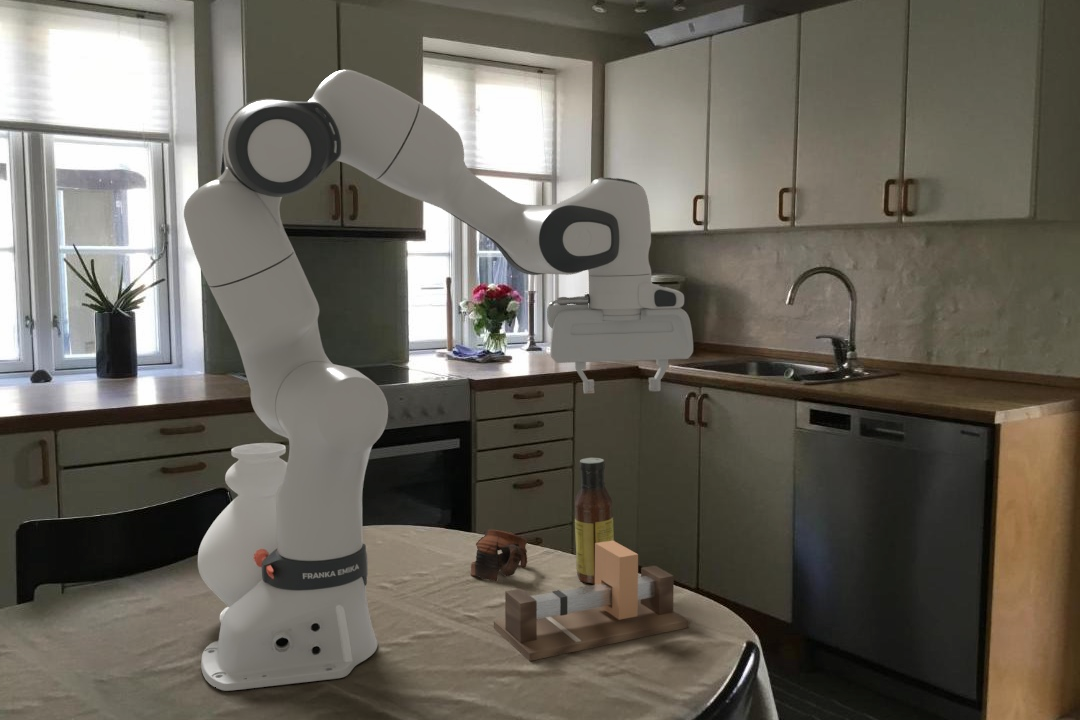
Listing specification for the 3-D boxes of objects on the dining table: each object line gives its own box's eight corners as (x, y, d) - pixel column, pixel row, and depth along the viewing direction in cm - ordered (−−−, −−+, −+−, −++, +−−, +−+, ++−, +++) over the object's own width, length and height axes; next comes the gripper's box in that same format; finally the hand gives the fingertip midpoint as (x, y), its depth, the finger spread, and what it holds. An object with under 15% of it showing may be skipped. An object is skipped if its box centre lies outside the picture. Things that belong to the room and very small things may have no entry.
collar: (619, 619, 130) (619, 557, 129) (594, 602, 136) (595, 543, 135) (637, 616, 131) (638, 554, 130) (612, 599, 138) (612, 540, 136)
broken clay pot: (457, 574, 156) (471, 526, 159) (503, 590, 160) (516, 543, 163) (491, 576, 146) (505, 525, 149) (540, 593, 150) (553, 544, 153)
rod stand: (529, 660, 121) (529, 613, 121) (493, 627, 132) (493, 583, 131) (688, 627, 132) (689, 583, 132) (643, 599, 143) (644, 558, 142)
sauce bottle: (614, 573, 155) (615, 456, 152) (614, 586, 148) (615, 464, 146) (575, 571, 155) (576, 455, 153) (573, 585, 149) (573, 463, 147)
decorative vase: (281, 647, 126) (274, 466, 123) (173, 630, 131) (164, 456, 128) (349, 601, 142) (345, 440, 139) (250, 587, 148) (245, 433, 145)
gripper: (547, 299, 128) (550, 397, 130) (695, 294, 128) (695, 393, 130) (546, 295, 134) (548, 390, 136) (687, 291, 135) (687, 385, 137)
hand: (621, 391), depth 133 cm, fingers open, 8 cm apart
